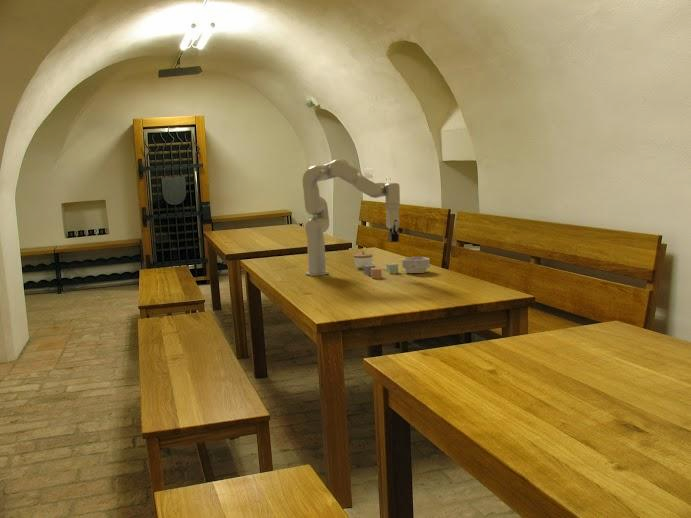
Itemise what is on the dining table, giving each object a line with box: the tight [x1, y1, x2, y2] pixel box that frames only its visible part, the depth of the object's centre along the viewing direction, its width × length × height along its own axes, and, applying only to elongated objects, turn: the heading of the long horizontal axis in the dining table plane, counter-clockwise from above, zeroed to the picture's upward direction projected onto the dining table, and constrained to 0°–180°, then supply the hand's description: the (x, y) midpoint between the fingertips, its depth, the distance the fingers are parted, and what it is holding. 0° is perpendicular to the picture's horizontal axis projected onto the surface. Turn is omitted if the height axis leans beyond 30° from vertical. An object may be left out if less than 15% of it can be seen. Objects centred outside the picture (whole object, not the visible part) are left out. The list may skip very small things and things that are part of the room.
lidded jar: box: [353, 251, 374, 270], centre depth 409 cm, size 11×11×9 cm
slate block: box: [362, 264, 376, 276], centre depth 387 cm, size 5×5×5 cm
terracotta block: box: [370, 267, 383, 279], centre depth 377 cm, size 5×5×5 cm
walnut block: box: [387, 231, 400, 243], centre depth 376 cm, size 5×5×5 cm
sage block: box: [385, 262, 399, 274], centre depth 390 cm, size 5×5×5 cm
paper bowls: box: [401, 256, 431, 274], centre depth 388 cm, size 15×15×8 cm
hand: (393, 240), depth 376 cm, fingers closed on walnut block, 5 cm apart
